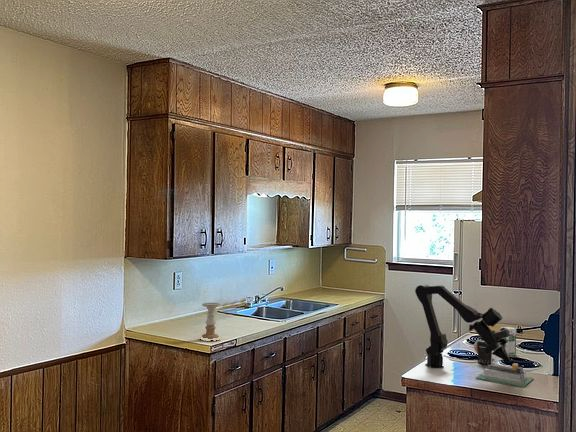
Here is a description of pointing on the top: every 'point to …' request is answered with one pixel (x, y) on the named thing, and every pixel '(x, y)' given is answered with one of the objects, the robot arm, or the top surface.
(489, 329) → the robot arm
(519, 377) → the green railed baseplate
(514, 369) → the wood block
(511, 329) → the syrup box
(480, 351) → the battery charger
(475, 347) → the decorative fruit
